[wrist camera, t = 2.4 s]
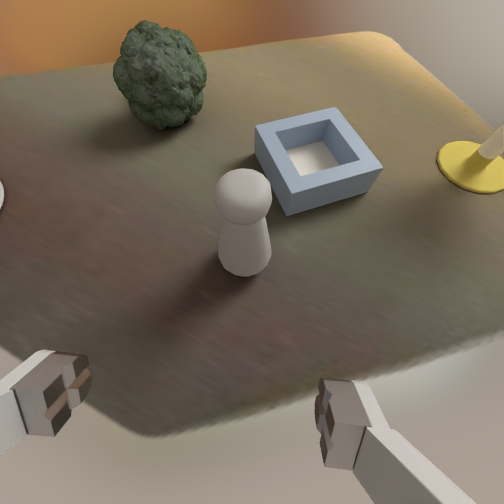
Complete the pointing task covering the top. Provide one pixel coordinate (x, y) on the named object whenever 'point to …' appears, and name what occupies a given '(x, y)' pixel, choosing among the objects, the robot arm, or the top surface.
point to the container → (314, 160)
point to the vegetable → (160, 75)
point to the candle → (475, 163)
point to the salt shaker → (243, 221)
